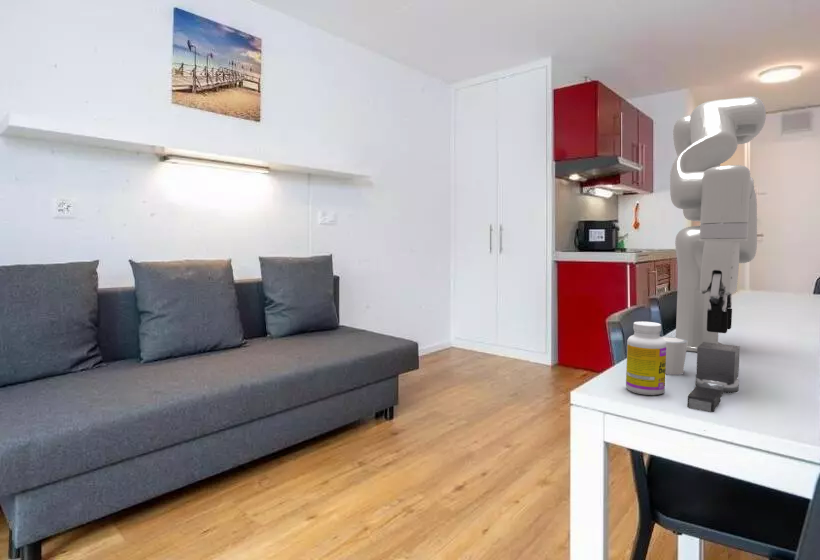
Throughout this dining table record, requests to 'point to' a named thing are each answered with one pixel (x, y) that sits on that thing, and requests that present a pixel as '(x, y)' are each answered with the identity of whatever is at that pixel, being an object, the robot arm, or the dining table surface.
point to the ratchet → (709, 394)
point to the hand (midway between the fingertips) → (719, 329)
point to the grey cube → (718, 362)
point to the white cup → (675, 355)
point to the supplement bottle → (646, 359)
